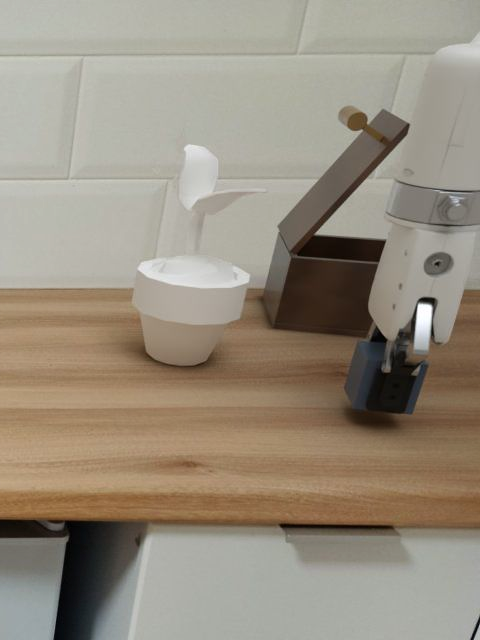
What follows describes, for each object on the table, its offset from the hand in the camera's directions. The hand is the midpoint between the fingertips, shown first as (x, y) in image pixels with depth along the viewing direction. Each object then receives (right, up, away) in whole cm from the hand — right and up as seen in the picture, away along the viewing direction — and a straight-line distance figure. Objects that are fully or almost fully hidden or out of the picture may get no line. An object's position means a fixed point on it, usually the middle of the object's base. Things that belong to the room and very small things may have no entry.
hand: (378, 396), depth 85 cm
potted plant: (-14, +5, +15) cm, 21 cm away
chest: (+10, +12, +26) cm, 31 cm away
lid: (+7, +27, +19) cm, 34 cm away
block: (0, 0, 0) cm, 0 cm away
